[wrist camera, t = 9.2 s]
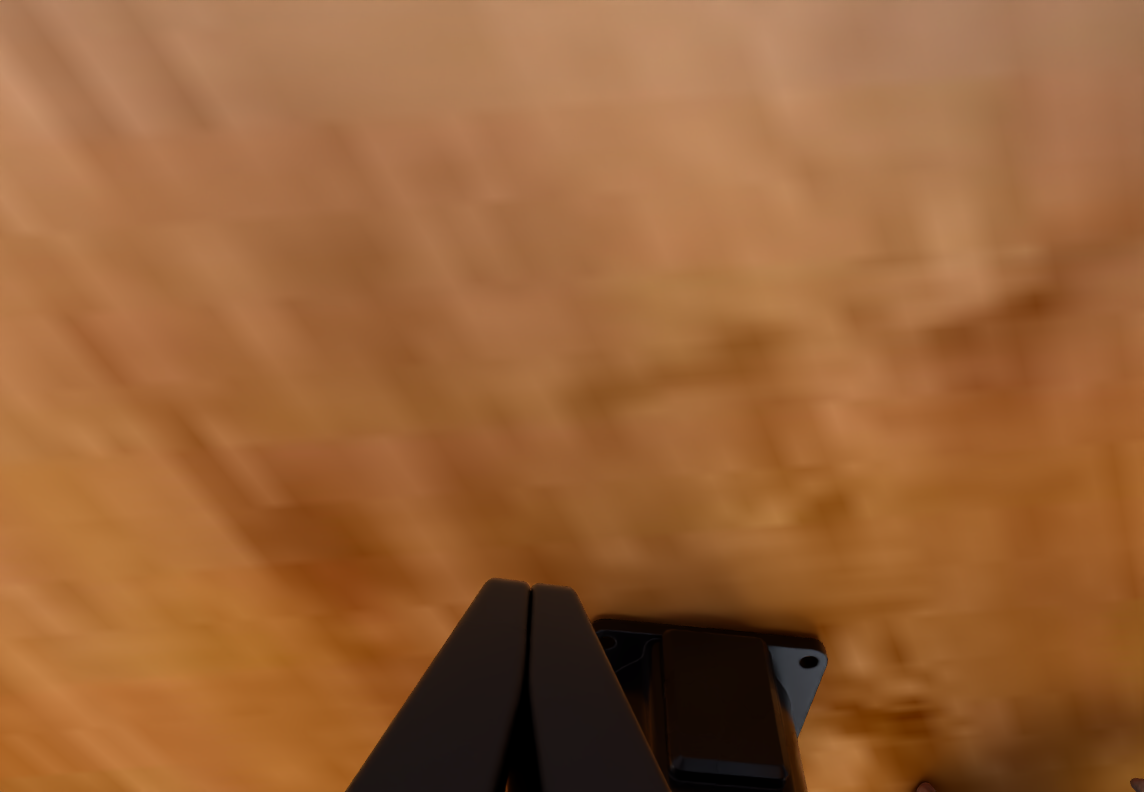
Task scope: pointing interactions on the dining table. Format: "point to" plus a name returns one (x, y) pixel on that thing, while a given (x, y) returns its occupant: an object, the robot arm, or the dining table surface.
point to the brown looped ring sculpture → (1139, 785)
